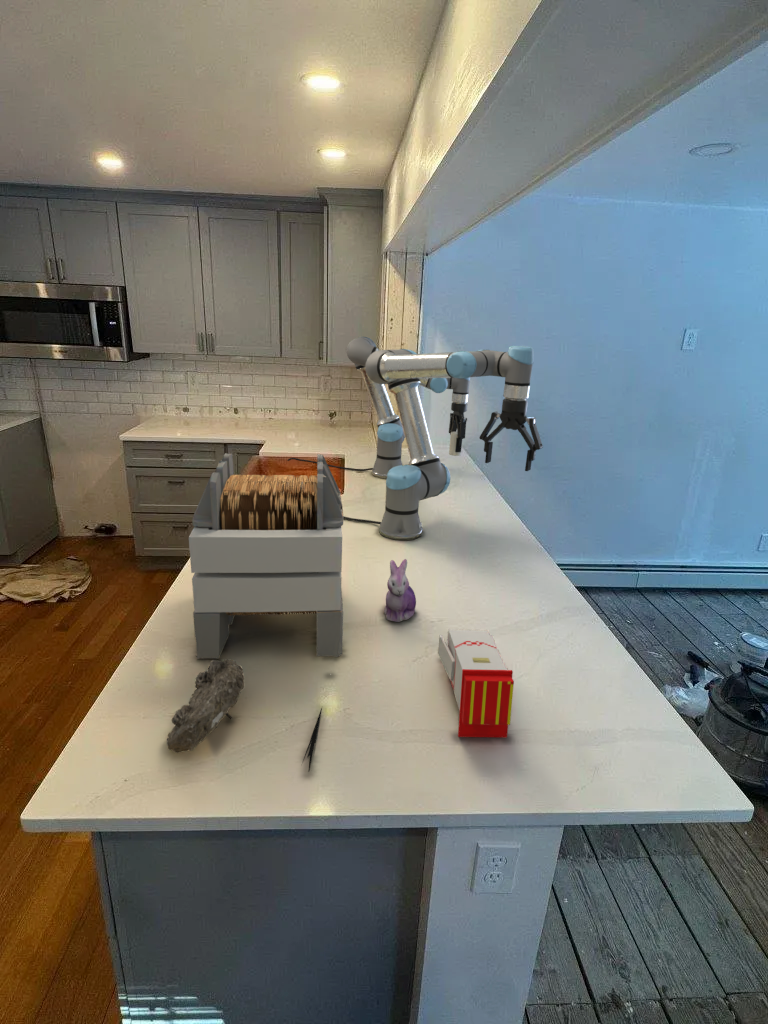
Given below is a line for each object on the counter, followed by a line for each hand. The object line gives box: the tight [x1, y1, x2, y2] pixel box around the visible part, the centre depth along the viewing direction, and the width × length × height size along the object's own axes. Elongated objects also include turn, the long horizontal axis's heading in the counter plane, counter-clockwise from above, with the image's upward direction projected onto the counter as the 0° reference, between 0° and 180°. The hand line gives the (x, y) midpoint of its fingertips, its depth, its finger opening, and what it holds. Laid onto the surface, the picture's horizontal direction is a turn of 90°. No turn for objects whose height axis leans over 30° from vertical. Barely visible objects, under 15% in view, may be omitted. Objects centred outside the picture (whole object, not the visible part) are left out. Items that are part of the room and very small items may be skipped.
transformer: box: [188, 452, 345, 660], centre depth 135 cm, size 34×33×41 cm
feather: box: [301, 673, 332, 771], centre depth 108 cm, size 2×28×2 cm
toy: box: [437, 628, 515, 738], centre depth 117 cm, size 12×13×30 cm
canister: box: [448, 431, 463, 457], centre depth 275 cm, size 6×6×11 cm
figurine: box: [384, 558, 417, 623], centre depth 145 cm, size 9×10×15 cm
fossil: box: [166, 658, 245, 754], centre depth 106 cm, size 22×10×15 cm
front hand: (507, 466), depth 180 cm, fingers open, 13 cm apart
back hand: (455, 450), depth 276 cm, fingers closed on canister, 6 cm apart
